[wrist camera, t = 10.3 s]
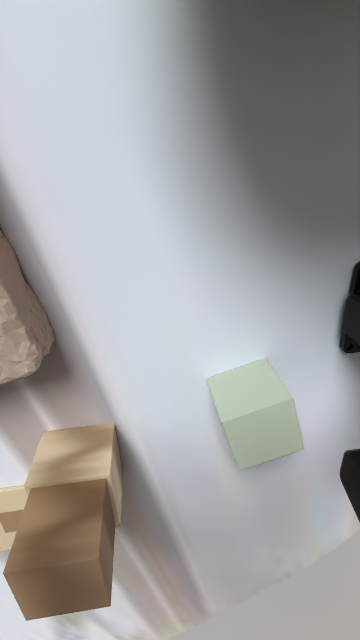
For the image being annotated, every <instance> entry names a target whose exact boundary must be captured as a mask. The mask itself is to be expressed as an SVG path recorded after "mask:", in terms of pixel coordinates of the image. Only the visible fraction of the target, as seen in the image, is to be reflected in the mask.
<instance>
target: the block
mask: <svg viewBox="0 0 360 640" xmlns="http://www.w3.org/2000/svg"><path fill="white" fill-rule="evenodd" d="M206 379H207V382H208V385H209V388H210V391H211V394H212V397H213V400H214V403H215V406H216V409H217V412H218V415H219V418H220V421H221V424H222V427H223V430H224V432H225V435H226V438H227V441H228V443H229V446H230V449H231V452H232V454H233V457H234V460H235V463H236V465H237V468H238V471H240V470H243V469H246V468H249V467H252V466H255V465H258V464H261V463H264V462H267V461H270V460H273V459H276V458H279V457H282V456H285V455H288V454H291V453H294V452H297V451H300V450H303V449H304V446H303V442H302V437H301V432H300V428H299V423H298V418H297V414H296V409H295V404H294V400H293V397H292V396H291V394H290V393H289V391H288V390H287V388H286V387H285V385H284V384H283V382H282V381H281V379H280V378H279V376H278V375H277V373H276V372H275V370H274V369H273V367H272V366H271V364H270V363H269V362H268V360H267V359H266V358H263V359H260V360H257V361H254V362H252V363H249V364H246V365H243V366H240V367H237V368H234V369H231V370H228V371H226V372H223V373H220V374H217V375H214V376H211V377H208V378H206Z"/></svg>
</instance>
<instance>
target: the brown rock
mask: <svg viewBox="0 0 360 640" xmlns="http://www.w3.org/2000/svg"><path fill="white" fill-rule="evenodd" d="M23 278H24V276H23V274H22V272H21V269H20V266H19V263H18V260H17V257H16V255H15V252H14V250H13V248H12V247H11V246H10V244H9V243H8V240H7V239H6V238H5V236H4V235H3V233H2V232H1V230H0V384H4V383H7V382H9V381H12V380H14V379H18V378H22V377H27V376H29V375H31V374H32V373H34V372H35V371H36V370H37V369H38V368H39V367H40V366H41V362H42V361H43V359H44V357H45V356H46V355H48V354H49V353H50V349H51V345H52V344H53V342H54V335H53V329H52V327H51V326H50V324H49V321H48V318H47V314H46V312H45V310H44V309H43V307H42V305H41V303H40V302H39V300H38V298H37V296H36V295H35V293H34V291H33V290H32V288H31V287H30V286H29V285H28V284H27V283H26V282H25V281H24V279H23Z"/></svg>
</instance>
